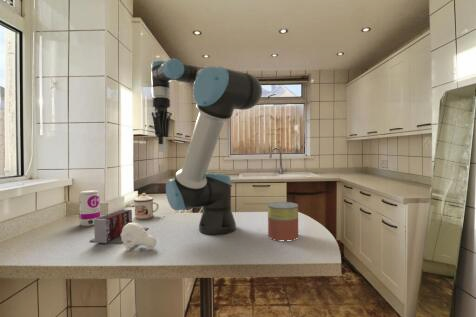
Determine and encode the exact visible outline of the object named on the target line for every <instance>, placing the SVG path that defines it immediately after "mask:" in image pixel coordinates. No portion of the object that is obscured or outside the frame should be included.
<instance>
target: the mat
mask: <svg viewBox="0 0 476 317" xmlns="http://www.w3.org/2000/svg"><path fill="white" fill-rule="evenodd" d="M142 227H143V226H142ZM143 228H144V230H145V231H146V232H147V230H149V227H143ZM89 242H91V243H96V242H95V237H94V238H92V239H90V240H89ZM106 244H121V245H122V244H124V242H123V241H122V238H121V236H119V237H117V238H115V239H113V240H111V241H109V242H107V243H106Z"/></svg>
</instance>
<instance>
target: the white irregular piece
mask: <svg viewBox="0 0 476 317" xmlns="http://www.w3.org/2000/svg"><path fill="white" fill-rule="evenodd" d="M144 228H145V227H144ZM144 228H143V226H142V225H140V224H139V223H137V222H132V223H128V224H127V225H125V226H124V227H123V229H122V233H121V238H122V241H123V242H124V243H123V246H124V248H125V251H126V252H129V251H130V250H131V248H132V247H138V246H144V247H145V248H144V249H145V250H147V251H148V250H150V251H152V250H154V248H155V247H156V246H157V238H156V237H154V236H152V235H150V234H149V232H147V230H146V231H145V230H144Z"/></svg>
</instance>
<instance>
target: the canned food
mask: <svg viewBox="0 0 476 317" xmlns="http://www.w3.org/2000/svg"><path fill="white" fill-rule="evenodd" d="M267 230H268V231H267V237H268V236H269V237H270V238H272V239H275V240H284V241H287V240H294V239H296V238H298V236H299V204H298V203H297V202H296V203H295V202H289V201H275V202H270V203H267ZM269 237H268V238H269ZM270 238H269V239H270ZM298 239H299V238H298Z"/></svg>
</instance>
